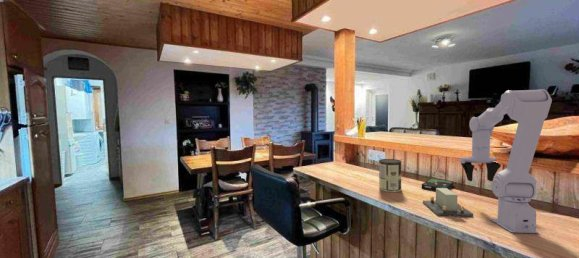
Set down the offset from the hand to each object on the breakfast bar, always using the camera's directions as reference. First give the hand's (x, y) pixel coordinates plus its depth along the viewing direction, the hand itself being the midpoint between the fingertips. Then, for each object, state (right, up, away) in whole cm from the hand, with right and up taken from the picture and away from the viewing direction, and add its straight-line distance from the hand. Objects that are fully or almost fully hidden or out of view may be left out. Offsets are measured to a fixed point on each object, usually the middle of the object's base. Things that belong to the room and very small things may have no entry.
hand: (479, 180), depth 102 cm
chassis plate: (-16, -10, -5) cm, 20 cm away
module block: (-16, -9, -4) cm, 19 cm away
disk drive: (-3, -9, +23) cm, 25 cm away
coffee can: (-28, -9, +22) cm, 36 cm away
